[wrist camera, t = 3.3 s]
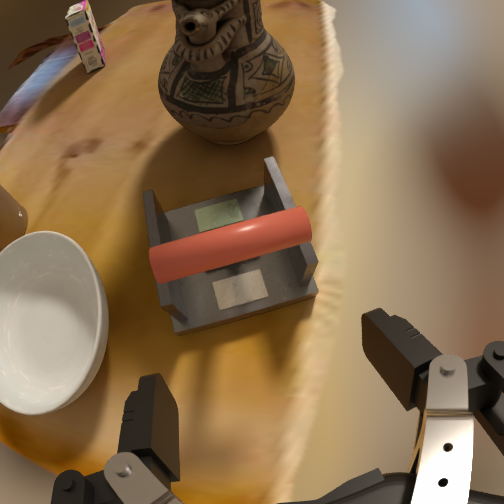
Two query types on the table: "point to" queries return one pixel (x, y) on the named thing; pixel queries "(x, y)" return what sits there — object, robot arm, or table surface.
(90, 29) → the candy bar box
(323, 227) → the table surface
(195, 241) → the switch lever
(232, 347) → the table surface
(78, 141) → the table surface
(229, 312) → the switch box
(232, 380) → the table surface
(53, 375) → the serving bowl
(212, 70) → the decorative pitcher
